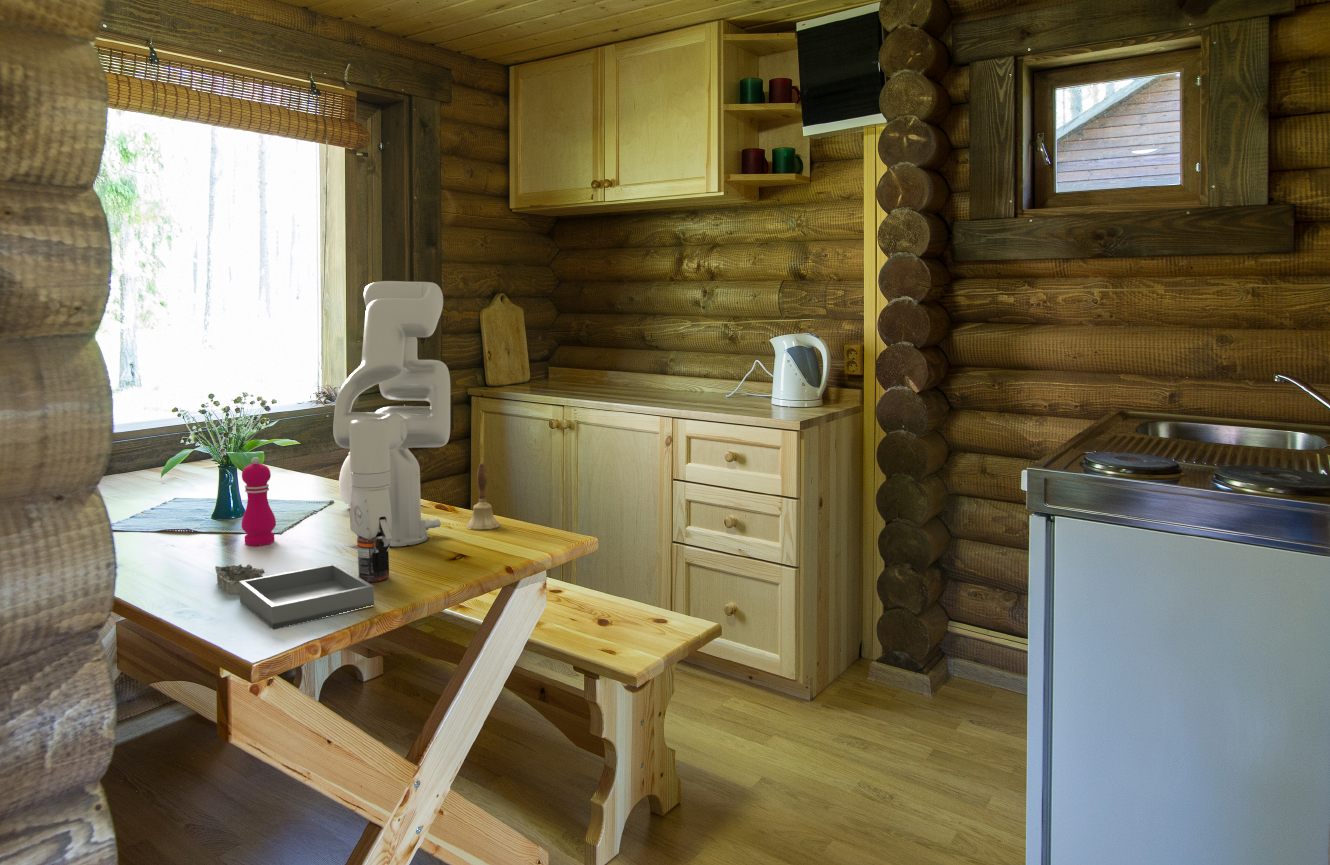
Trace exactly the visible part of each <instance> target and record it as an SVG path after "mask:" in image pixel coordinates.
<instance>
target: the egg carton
mask: <svg viewBox="0 0 1330 865" xmlns="http://www.w3.org/2000/svg"><path fill="white" fill-rule="evenodd" d="M214 569H215V572H216V582H217V584H216V585H217V586H221V589H222V590H224V591H225V590H226V594H227V595H240V589H239V581H243V580H246V578H247V579H254V578H260V577H264V576H263V575H264V574H266V572H265V569H263V568H257V567H253V566H252V565H251V564H247V565H246V566H242V563H241V564H238V565H235V564H233V565H225V566H218V565H215V568H214Z"/></svg>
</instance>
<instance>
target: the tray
mask: <svg viewBox="0 0 1330 865" xmlns="http://www.w3.org/2000/svg"><path fill="white" fill-rule="evenodd" d="M374 586H375V585H372V584H371V583H370V582H366V581H364V580H362V579H361V578H359V576H357V575H355V574H354V573H352V572H350V571H349V570H347V569H346V568H344V567H342V566H341V565H338V564H337V563H331V564H326V565H319V566H314V567H310V568H303V569H299V570H294V571H286V572H281V573H278V574H271V575H267V576H263V577H260V578H254V579H250V578H248V579H245V580H243V581H239V589H240V594H239V603H241V604H242V605H243V606H244V607H246V608H247V610H249V611H251V613H253V614H254V615H255V616H256V617H257V618H259V619H260V620H261V621H263V622H264V623H265V624H266V625H267V626H268V625H269V626H270V627H269V626H268V627H269V628H271V629H272V630H277V629H281V628H280V627H282V628H285V627H284V626H286V627H290V626H289V625H291V626H295V625H298V623H300V624H304V623H308V622H307V621H309V622H312V621H311V620H313V621H316V620H315V619H318V620H320V619H319V618H322V617H326V616H331V615H336V614H339V613H343V612H347V611H351V610H355V609H359V608H363V607H366V606H371V605H374V606H375V595H374V594H375V590H374V589H375V587H374ZM336 616H337V615H336ZM331 617H332V616H331ZM322 619H323V618H322ZM303 622H304V623H303ZM294 624H295V625H294Z"/></svg>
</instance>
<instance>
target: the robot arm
mask: <svg viewBox="0 0 1330 865" xmlns="http://www.w3.org/2000/svg"><path fill="white" fill-rule="evenodd" d="M363 300H364V304H365V308H366V310H365V315H364V328H363V337H362V338H363V339H362V352H361V362H360V365H359V366H358V367H357V368H356V369H355V370H354V371H352V373H351V374H350V375H349V376H348V377H347V378H346V380H345V381H344V383H343V384H342V385H341V387H340V389H339V390H338V392H337V396H336V398H335V403H334V404H335V405H334V413H333V414H334V415H333V424H332V425H333V429H332V430H333V431H332V432H333V438H334V441H335V443H336V444H337V445H338V446H339V447H341V448H343V449H349V452H350V466H351V488H352V491H351V505H350V508H349V509H350V510H349V512H350V513H349V516H350V520H349V525H350V531H351V532H353V534H355V535H356V536H357V538H358V537H359V536H361V537H363V538H365V539H368V540H371V539H372V544H373V549H374V552H373V553H372V569H373V572H375V573H376V572H381V571H386V570H388V569H389V570H390V561H389V560H390V558H389V556H390V554H389V551H390V547H408V546H407V545H409V546H414V545H418V544H422V543H424V542H426V541H428V540H429V532H427V531H429V529H436V528H440V527H441V520H440V519H439V518H437V519H430V518H428V519H424V518H422V509H421V508H422V506H421V504H422V503H421V469H420V463H419V460H417V458H416V457H415V455H414V454H413V453H412V452H411V451H410V450H409V448H410V449H413V448H440V447H441V448H442V447H444V446H445V445H447V444H448V442H449V439H450V435H451V376H450V371H449V368H448V366H447V365H446V364H445V363H444V362H443V361H441V360H437V359H418V358H419V357H418V338H429V337H431V336H432V335H433V334H434V332H435V331H436V329H437V326H438V323H439V321H440V320H439V319H440V317H441V315H442V311H443V306H444V296H443V292H442V289H441V287H440V286H439V285H438V284H437V283H436V282H435V283H434V282H430V281H400V280H398V281H397V280H396V281H395V280H383V281H376V282H372V283H369V284H367V285H366V286H365V287H364V291H363ZM376 385H379V386H378V387H379V391H380V394H381V396H382V397H383V398H385V399H387V400H392V401H411V402H412V401H415V402H416V401H417V402H418V401H419V402H420V401H421V402H424V401H425V402H428V403H429V405H430V406H429V405H428V406H425V405H423V406H417V405H415V406H413V405H395V406H394V405H391V406H384V407H381V408H379V409H377V410H376V411H370V412H369V411H367V412H366V411H364V412H363V411H362V412H360V411H352V407H353V404H354V403H355V400H356V399H357V398H358V396H360V395H361V394H362V393H363V392H365V391H366V390H368V389H370V388H372V387H374V386H376ZM380 533H381V534H382V536H378V537H376V535H377V534H380ZM381 539H382V541H380V542H379V544H377V540H381Z"/></svg>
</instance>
